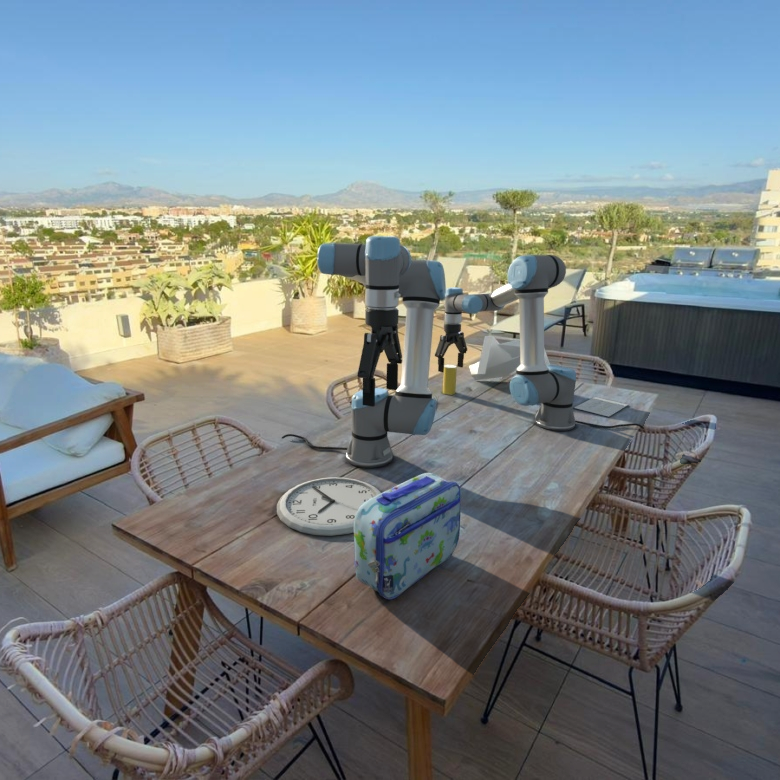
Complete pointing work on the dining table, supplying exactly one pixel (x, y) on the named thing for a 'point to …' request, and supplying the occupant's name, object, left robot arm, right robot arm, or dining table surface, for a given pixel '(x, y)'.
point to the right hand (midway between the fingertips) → (450, 369)
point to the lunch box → (406, 533)
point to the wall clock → (324, 505)
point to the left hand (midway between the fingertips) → (380, 397)
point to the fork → (436, 397)
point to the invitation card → (601, 406)
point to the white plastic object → (498, 359)
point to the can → (449, 379)
